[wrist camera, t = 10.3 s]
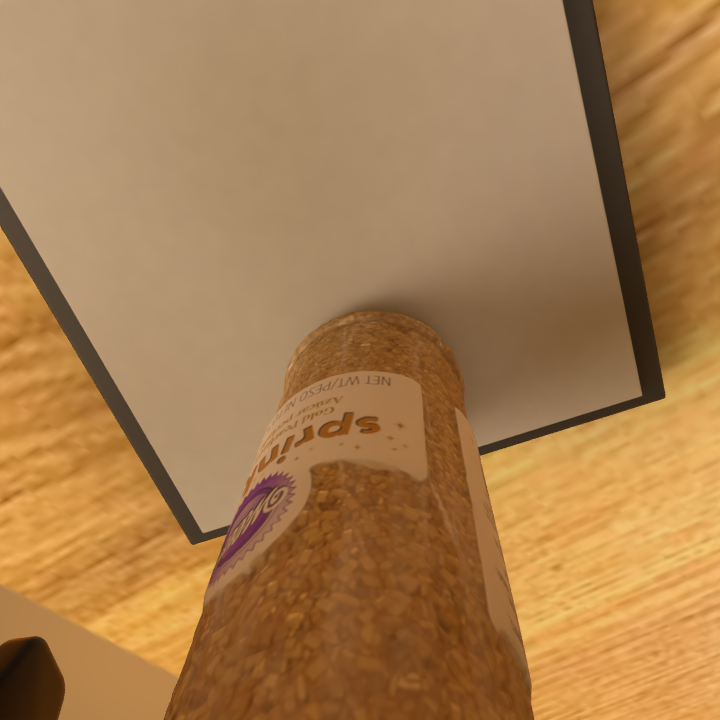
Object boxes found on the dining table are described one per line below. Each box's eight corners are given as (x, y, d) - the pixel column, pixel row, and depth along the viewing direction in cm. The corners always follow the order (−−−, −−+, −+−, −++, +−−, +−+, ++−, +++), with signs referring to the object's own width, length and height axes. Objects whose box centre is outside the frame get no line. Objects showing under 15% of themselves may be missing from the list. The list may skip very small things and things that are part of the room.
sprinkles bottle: (329, 272, 14) (-226, 1801, 1) (499, 354, 14) (1123, 1918, 2) (258, 424, 15) (-259, 1666, 3) (411, 490, 16) (463, 1752, 4)
